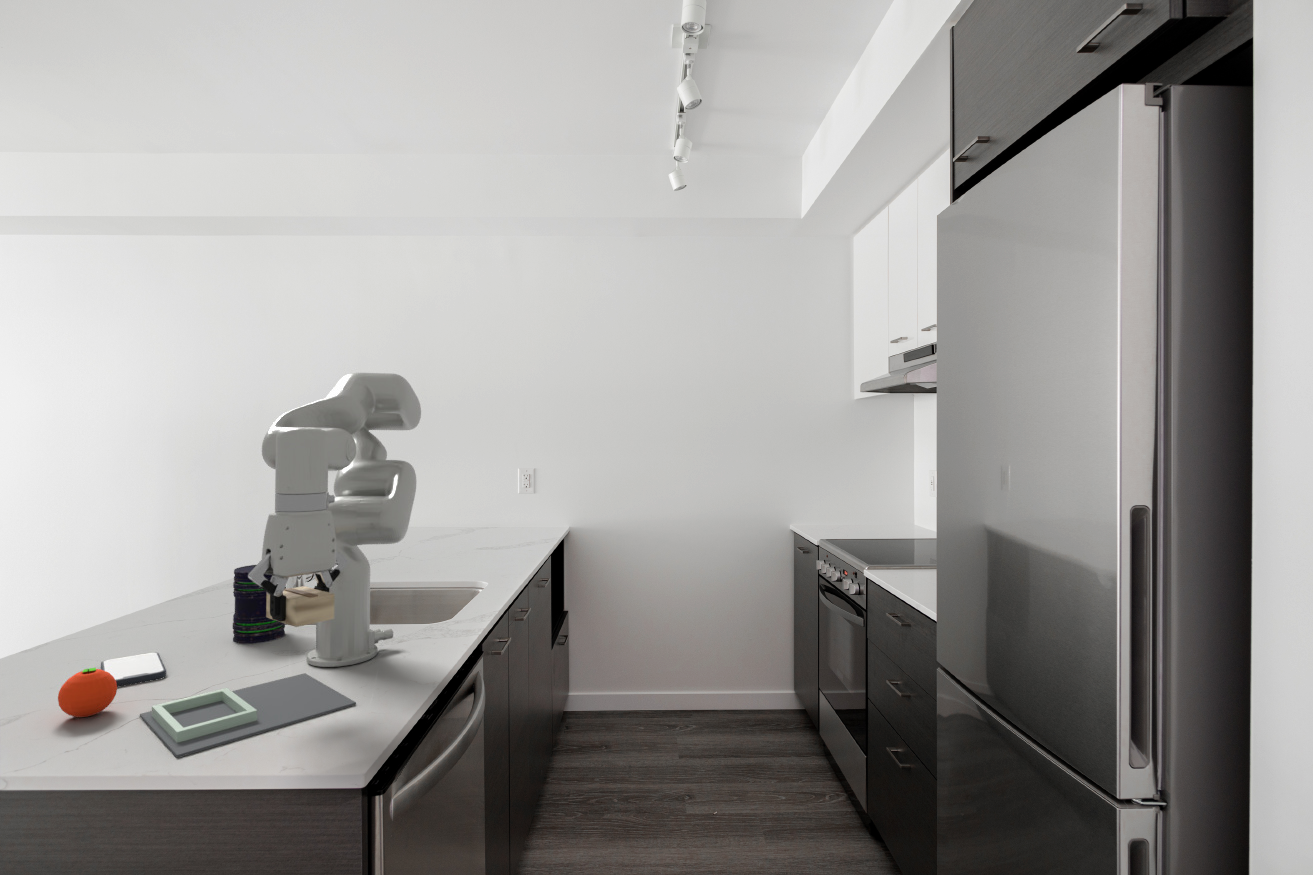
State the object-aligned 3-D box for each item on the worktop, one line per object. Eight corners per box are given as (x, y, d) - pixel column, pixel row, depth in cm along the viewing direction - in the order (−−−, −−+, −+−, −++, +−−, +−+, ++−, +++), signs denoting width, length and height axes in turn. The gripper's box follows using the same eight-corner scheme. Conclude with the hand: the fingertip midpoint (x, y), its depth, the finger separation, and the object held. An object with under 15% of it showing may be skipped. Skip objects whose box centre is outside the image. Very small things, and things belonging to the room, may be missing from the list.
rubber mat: (304, 675, 119) (304, 673, 119) (355, 704, 106) (355, 702, 106) (139, 716, 101) (139, 713, 101) (176, 757, 88) (176, 754, 88)
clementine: (61, 710, 103) (62, 665, 103) (118, 700, 107) (119, 656, 107) (53, 728, 96) (54, 680, 96) (115, 717, 100) (116, 670, 100)
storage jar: (292, 636, 142) (293, 567, 142) (241, 647, 135) (242, 574, 135) (275, 627, 149) (276, 561, 149) (225, 637, 141) (226, 567, 141)
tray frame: (226, 696, 108) (227, 687, 108) (256, 720, 99) (256, 710, 99) (151, 715, 100) (151, 705, 100) (176, 742, 91) (177, 731, 91)
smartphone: (99, 668, 123) (102, 691, 111) (99, 660, 123) (102, 682, 111) (158, 659, 129) (167, 679, 117) (158, 650, 129) (167, 670, 117)
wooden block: (334, 618, 106) (334, 592, 106) (296, 627, 101) (296, 599, 101) (303, 609, 111) (303, 584, 111) (266, 617, 106) (266, 591, 106)
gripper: (340, 499, 115) (339, 601, 115) (232, 506, 101) (230, 623, 101) (364, 501, 111) (363, 608, 111) (255, 509, 97) (253, 631, 97)
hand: (300, 614), depth 106 cm, fingers closed on wooden block, 6 cm apart
